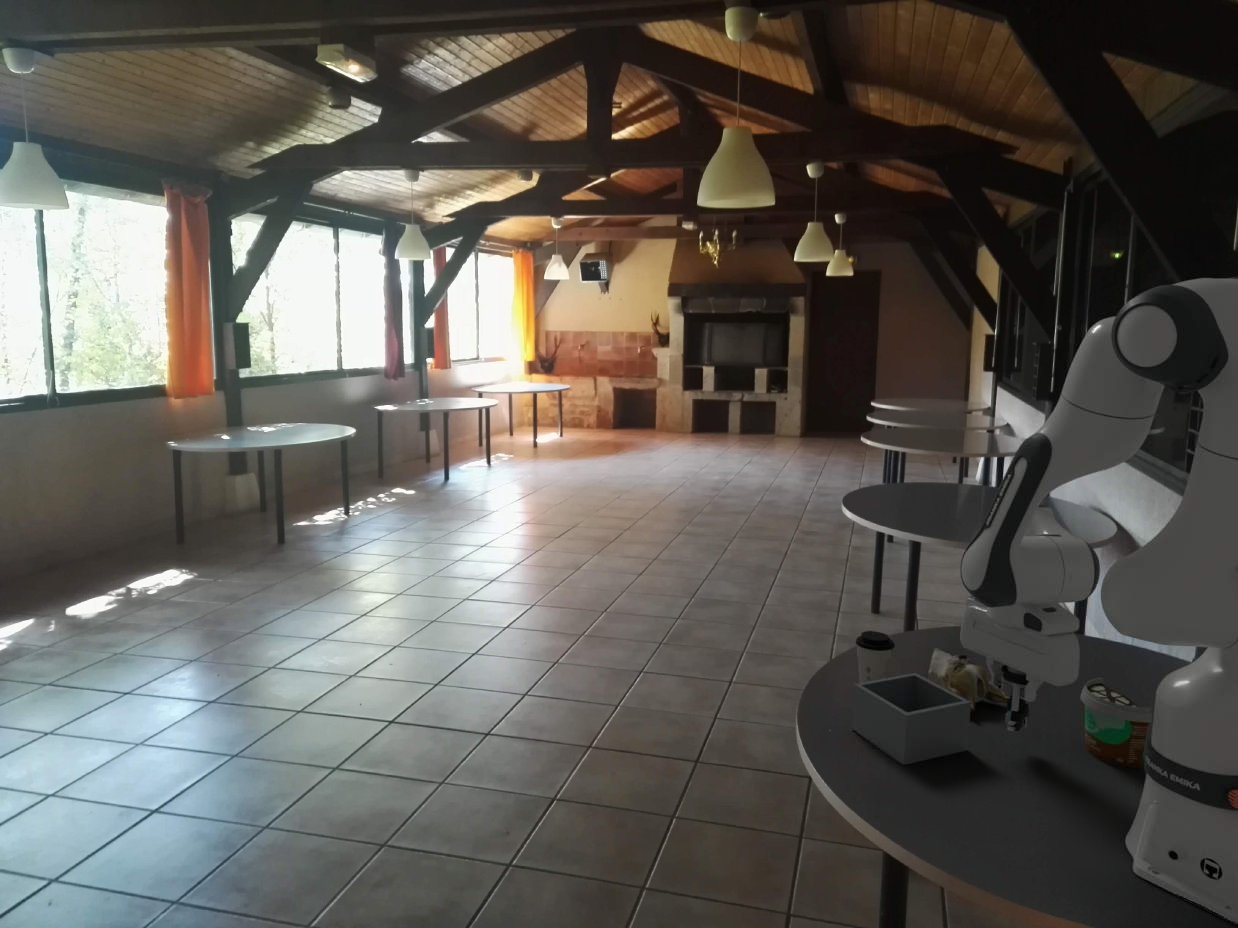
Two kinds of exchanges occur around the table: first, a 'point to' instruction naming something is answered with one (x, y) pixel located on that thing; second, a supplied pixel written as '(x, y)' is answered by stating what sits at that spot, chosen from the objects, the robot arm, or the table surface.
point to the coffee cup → (874, 655)
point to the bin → (911, 717)
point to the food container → (1114, 725)
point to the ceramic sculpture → (963, 678)
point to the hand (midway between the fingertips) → (1012, 693)
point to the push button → (1016, 699)
